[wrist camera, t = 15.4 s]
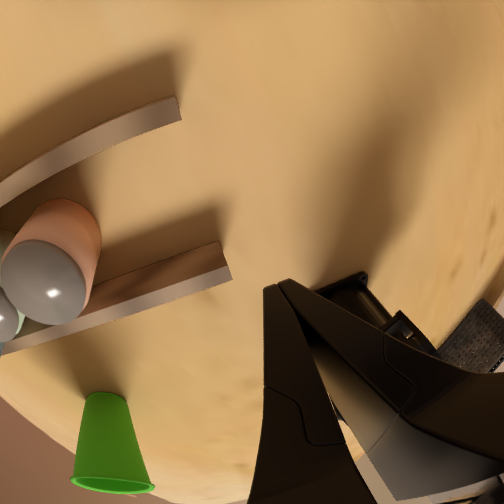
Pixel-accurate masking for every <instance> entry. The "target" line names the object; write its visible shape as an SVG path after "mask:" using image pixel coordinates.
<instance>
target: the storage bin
mask: <svg viewBox="0 0 504 504" xmlns="http://www.w3.org/2000/svg"><path fill="white" fill-rule="evenodd" d="M489 332H490V333H489ZM497 343H498V344H497ZM500 345H501V346H500ZM499 346H500V347H499ZM476 348H477V349H476ZM496 350H497V351H496ZM437 352H438V354H439V355H440V357H441V359H442V361H445V362H447V363H450V364H452V365H455V366H457V367H459V368H462V369H465V370H468V371H472V372H477V373H489V372H490V371H491V372H490V373H493V372H494V371H495V370H496V369H497V368H498V367H499V365H500V364H501V363H502V362H503V361H504V357H503V356H504V318H503V317H502V316H501V315H500V314H499V313H498V312H497V311H496V310H495V309H494V308H493V307H492V306H491V305H490V304H489V303H488V302H487V301H486V300H484V299H482V300H480V301H479V302H478V303H477V304H476V305H475V306H474V307H473V309H472V310H471V311H470V312H469V313H468V315H467V316H466V317H465V318H464V320H463V321H462V322H461V323H460V325H459V326H458V327H457V328H456V330H455V331H454V332H453V333H452V334H451V335H450V337H449V338H448V339H447V340H446V341H445V342H444V344H443V345H442V346H441V347H440V348H439V349H438V350H437ZM473 352H474V353H473ZM488 354H489V355H488ZM485 357H486V358H485ZM502 357H503V358H502ZM499 361H500V362H499ZM464 362H465V363H464ZM481 362H482V363H481ZM463 363H464V364H463ZM496 364H497V365H496ZM483 365H484V366H483ZM460 366H461V367H460ZM493 368H494V369H493Z"/></svg>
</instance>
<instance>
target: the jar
mask: <svg viewBox="0 0 504 504" xmlns="http://www.w3.org/2000/svg"><path fill="white" fill-rule="evenodd" d="M101 246H102V237H101V232H100V229H99V226H98V224H97V222H96V220H95V219H94V217H93V216H92V215H91V214H90V212H89V211H88V210H86V209H85V208H84V207H83V206H81V205H79V204H78V203H76V202H73V201H70V200H66V199H53V200H49V201H47V202H45V203H43V204H41V205H40V206H39V207H38V208H37V209H36V210H35V211H34V212H33V214H32V215H31V216H30V217H29V219H28V220H27V221H26V223H25V224H24V225H23V227H22V228H21V229H20V231H19V232H18V233H17V235H16V236H15V238H14V239H13V240H12V242H11V243H10V245H9V246H8V248H7V249H6V250H5V253H4V255H3V258H2V264H1V271H0V277H1V283H2V287H3V289H4V292H5V294H6V296H7V297H8V299H9V300H10V302H11V303H12V304H13V305H14V306H15V307H16V308H17V309H18V310H19V311H20V312H21V313H22V314H24V315H25V316H27V317H28V318H30V319H32V320H34V321H37V322H40V323H43V324H48V325H61V324H66V323H68V322H71V321H72V320H74V319H75V318H76V317H78V316H79V314H80V313H81V311H82V310H83V309H84V308H85V306H86V305H87V303H88V300H89V296H90V292H91V287H92V283H93V279H94V274H95V270H96V266H97V263H98V259H99V255H100V251H101Z"/></svg>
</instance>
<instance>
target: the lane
mask: <svg viewBox="0 0 504 504" xmlns="http://www.w3.org/2000/svg"><path fill="white" fill-rule="evenodd" d="M180 120H182V118H181V115H180V111H179V108H178V105H177V101H176V98H175V96H171V97H168V98H165V99H162V100H159V101H156V102H153V103H150V104H147V105H145V106H142V107H139V108H137V109H134V110H132V111H129V112H127V113H124V114H122V115H119V116H117V117H115V118H112V119H110V120H108V121H106V122H103V123H101V124H99V125H97V126H95V127H92V128H90V129H88V130H86V131H84V132H82V133H80V134H78V135H76V136H74V137H72V138H70V139H68V140H66V141H65V142H63V143H61V144H59V145H57V146H55V147H54V148H52V149H50V150H48V151H47V152H45V153H43V154H41V155H40V156H38V157H36V158H35V159H33V160H32V161H30V162H28V163H27V164H25V165H24V166H22V167H20V168H19V169H17V170H16V171H14V172H13V173H11V174H10V175H9V176H7V177H6V178H4V179H3V180H1V181H0V207H2V206H3V205H5V204H6V203H8V202H9V201H11V200H12V199H14V198H15V197H17V196H18V195H20V194H22V193H23V192H25V191H26V190H28V189H30V188H31V187H33V186H35V185H36V184H38V183H40V182H42V181H43V180H45V179H47V178H49V177H50V176H52V175H54V174H56V173H58V172H60V171H62V170H63V169H65V168H67V167H69V166H71V165H73V164H75V163H77V162H79V161H81V160H83V159H85V158H87V157H89V156H92V155H94V154H96V153H98V152H100V151H102V150H105V149H107V148H109V147H111V146H114V145H116V144H118V143H121V142H123V141H126V140H128V139H130V138H133V137H135V136H138V135H141V134H143V133H146V132H148V131H151V130H154V129H157V128H159V127H162V126H165V125H168V124H171V123H174V122H177V121H180ZM230 280H233V279H232V276H231V273H230V270H229V267H228V265H227V262H226V259H225V257H224V254H223V251H222V249H221V246H220V243H219V241H216V242H213V243H211V244H208V245H205V246H202V247H199V248H196V249H193V250H191V251H188V252H185V253H182V254H179V255H177V256H174V257H171V258H168V259H165V260H163V261H160V262H157V263H154V264H152V265H149V266H146V267H143V268H141V269H138V270H135V271H133V272H130V273H127V274H124V275H122V276H119V277H116V278H114V279H111V280H108V281H106V282H103V283H100V284H98V285H95V286H93V287H91V292H90V296H89V300H88V303H87V305H86V306H85V308H84V309H83V310H82V311H81V313H80V314H79V316H78V317H76V318H75V319H74V320H72V321H71V322H68V323H66V324H61V325H48V324H43V323H40V322H37V321H34V320H32V319H30V318H28V317H27V316H25V318H24V320H23V323H22V326H21V329H20V331H19V332H18V333H17V334H16V335H15V337H14V338H13V339H12V340H10V341H8V342H5V344H4V347H3V350H2V353H1V356H2V355H5V354H9V353H12V352H15V351H19V350H22V349H25V348H28V347H32V346H35V345H38V344H41V343H45V342H48V341H51V340H54V339H57V338H61V337H64V336H67V335H70V334H73V333H76V332H80V331H83V330H86V329H89V328H92V327H95V326H98V325H101V324H104V323H107V322H110V321H113V320H117V319H120V318H123V317H126V316H129V315H132V314H135V313H138V312H141V311H144V310H147V309H150V308H152V307H155V306H158V305H161V304H164V303H167V302H170V301H173V300H176V299H179V298H182V297H185V296H188V295H191V294H193V293H196V292H199V291H202V290H205V289H208V288H211V287H213V286H216V285H219V284H222V283H225V282H228V281H230Z"/></svg>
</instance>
